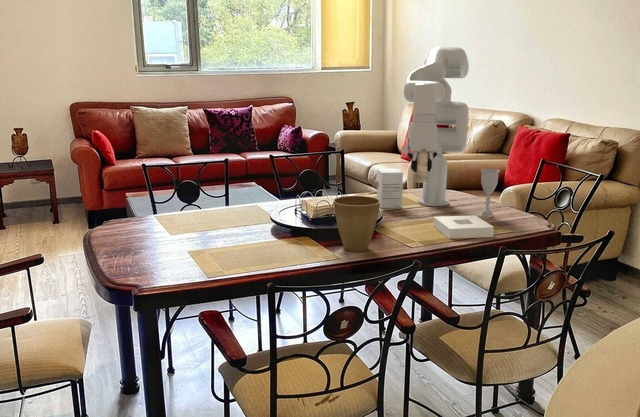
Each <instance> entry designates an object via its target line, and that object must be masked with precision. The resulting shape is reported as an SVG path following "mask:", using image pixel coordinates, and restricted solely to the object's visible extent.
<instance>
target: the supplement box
mask: <svg viewBox="0 0 640 417" xmlns="http://www.w3.org/2000/svg"><path fill="white" fill-rule="evenodd" d="M376 180H377V181H376V198H377V199H379V200H380V207H379V209H402V207H403V206H402V205H403V202H402V201H403V186H404V184H403V182H404V172H402V170H400V169H399V168H377V179H376Z"/></svg>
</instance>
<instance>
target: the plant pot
mask: <svg viewBox="0 0 640 417" xmlns="http://www.w3.org/2000/svg"><path fill="white" fill-rule="evenodd" d="M333 208H334V209H333V210H334V214H335V220H336V224H337V229H338V233H339V236H340V239H341V242H342V245H343V247H344V250H346V251H350V252H365V251H367V250H368V248H369V245H370V243H371V240H372V238H373V235H374V232H375V228H376V225H377V221H378V218H379V217H378V216H379V211H380V200H379V199H377V197H372V196H365V195H343V196H339V197H336V198H333Z"/></svg>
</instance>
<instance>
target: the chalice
mask: <svg viewBox="0 0 640 417" xmlns="http://www.w3.org/2000/svg"><path fill="white" fill-rule="evenodd" d="M500 171H501V170H500V169H498V168H486V167H485V168H480V172H481V176H480V177H481V178H480V184H481V187H482V190H483V192H484V194H486V197H485V200H486V202H485V208H484V209H482V211H481V212H480V213H479V216H480V217H484V218H492V217H494V214H493V210H491V209H490V208H489V205H491V203H490V200H491V198H490V195H492V194H493V193H494V191H495V190H496V188H497V185H498V182H499V181H498V180H499V173H500Z"/></svg>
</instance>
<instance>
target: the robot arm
mask: <svg viewBox="0 0 640 417" xmlns="http://www.w3.org/2000/svg"><path fill="white" fill-rule="evenodd" d="M469 65H470V63H469V59H468V56H467V53H466V51H465V50H464V48H462V47H454V46H453V47H452V46H450V47H449V46H448V47H444V46H441V47H439V46H438V47H434V48H432V49H431V50H430V51H429V52H428V54H427V57H426V59H425V61H424V65H422V66H420V67H418V68H417V69H415V70H413V71H411V72H410V73H409V74H408V76H407V78H406V81H405V84H404V87H403V97H404V99H405V101H407V102H409V103H413V106H412V107H413V109H412V122H410V123H409V126H408V132H407V139H406V144H405V146H404V147H403V148H402V150H401V152H402V153H404V155H406V156H407V157H408V158H409V159H410V163H411V164H410V169H411V171H412V172H414V173H415V172H416V171H417V161H416V156H417V152H421V151H422V149H426V151H427V152H428V170H427V182H425V183H422V197H421V198H418V203H419V204H420V205H422V206H428V207H445V206H448V205H449V203H450V202H449V200H448V199H447V198H446V196H447V195H446V194H447V191H446V190H447V178H448V161H447V158H446V156H445V155H444V154H443V153H444V152H445V153H447V152H449V153H463V152H464V151H465V149H466V148H467V141H468V140H467V139H468V129H469V128H468V127H469V116H470V115H469V106H468V105H467V104H466V102H462V101H452V91H453V90H452V88H451V86H450V84H449V83H448V81H447V80H446V79H465V78H466V76H467V75H468V72H469V68H470V67H469ZM437 125H438V126H439V125H440V126H441V125H443V126H455V127H456V128H449V127H438V126H437ZM409 151H410V152H409Z"/></svg>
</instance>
